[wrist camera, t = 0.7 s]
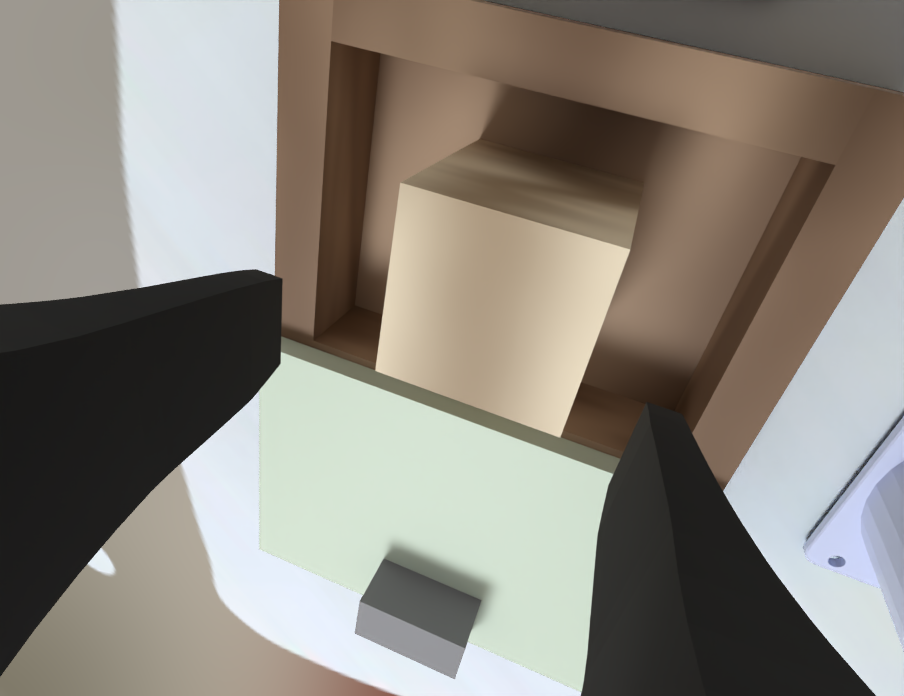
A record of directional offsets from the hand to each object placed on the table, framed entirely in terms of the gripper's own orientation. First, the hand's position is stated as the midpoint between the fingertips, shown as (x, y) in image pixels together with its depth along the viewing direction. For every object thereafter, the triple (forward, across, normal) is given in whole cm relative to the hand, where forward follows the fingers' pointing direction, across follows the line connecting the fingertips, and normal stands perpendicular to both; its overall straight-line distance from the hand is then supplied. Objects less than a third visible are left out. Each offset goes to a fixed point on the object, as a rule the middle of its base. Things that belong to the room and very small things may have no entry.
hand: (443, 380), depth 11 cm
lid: (+6, 0, +10) cm, 12 cm away
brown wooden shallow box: (+9, 0, +4) cm, 10 cm away
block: (+9, 0, 0) cm, 9 cm away
